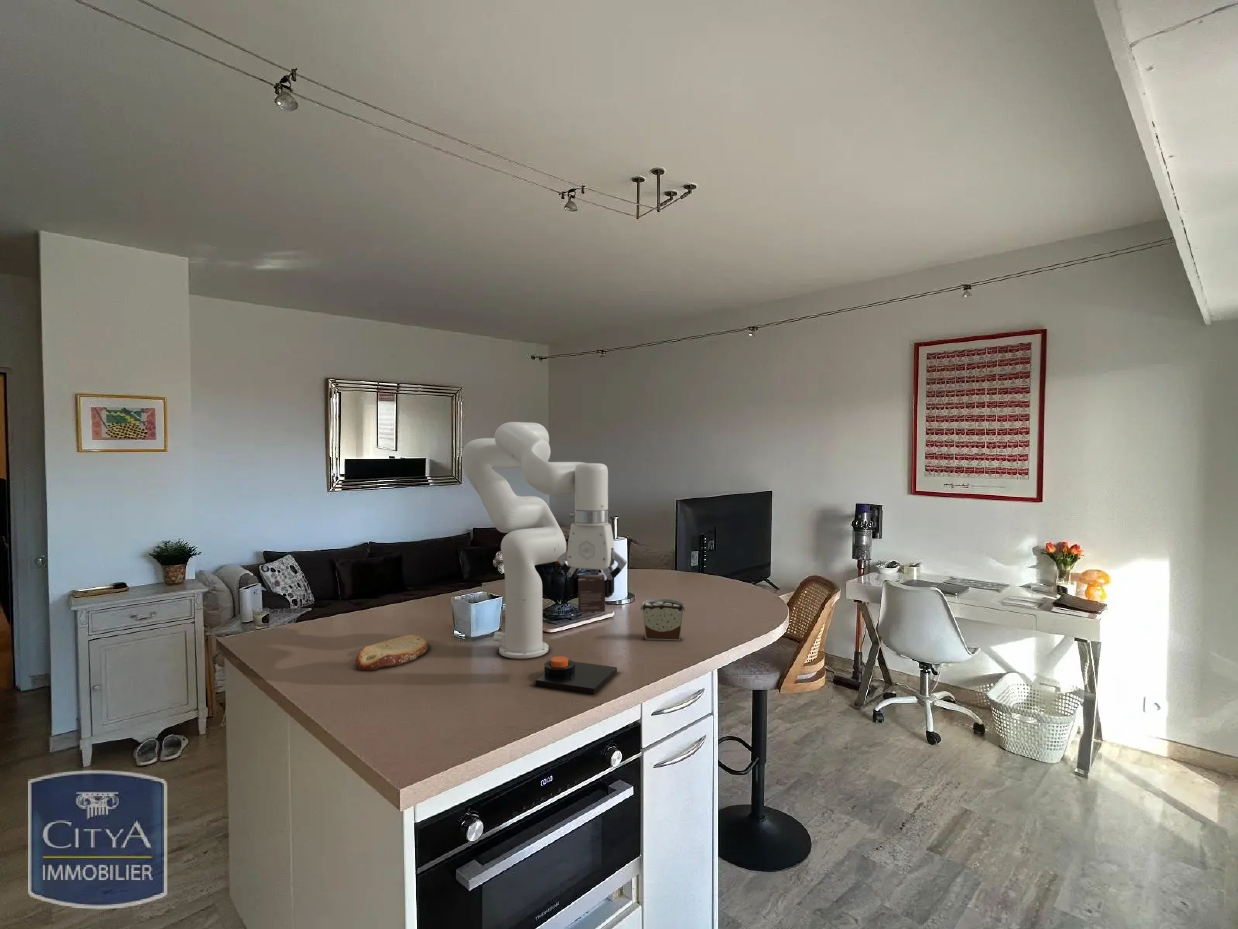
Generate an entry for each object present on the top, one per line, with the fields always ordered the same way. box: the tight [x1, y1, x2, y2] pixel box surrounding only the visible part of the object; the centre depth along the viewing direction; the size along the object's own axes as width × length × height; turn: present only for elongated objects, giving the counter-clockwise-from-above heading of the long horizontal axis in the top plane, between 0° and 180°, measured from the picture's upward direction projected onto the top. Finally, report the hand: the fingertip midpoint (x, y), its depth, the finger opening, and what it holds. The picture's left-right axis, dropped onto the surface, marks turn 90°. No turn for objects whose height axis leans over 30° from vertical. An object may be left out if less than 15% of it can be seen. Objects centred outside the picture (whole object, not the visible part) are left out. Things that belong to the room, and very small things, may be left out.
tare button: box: [550, 655, 569, 668], centre depth 143 cm, size 4×4×2 cm
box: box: [577, 574, 606, 613], centre depth 142 cm, size 6×6×7 cm
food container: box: [639, 598, 686, 641], centre depth 174 cm, size 12×6×10 cm, turn 84°
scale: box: [535, 659, 618, 696], centre depth 142 cm, size 15×14×3 cm
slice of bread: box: [354, 634, 429, 671], centre depth 157 cm, size 18×18×4 cm
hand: (591, 594), depth 142 cm, fingers closed on box, 7 cm apart
